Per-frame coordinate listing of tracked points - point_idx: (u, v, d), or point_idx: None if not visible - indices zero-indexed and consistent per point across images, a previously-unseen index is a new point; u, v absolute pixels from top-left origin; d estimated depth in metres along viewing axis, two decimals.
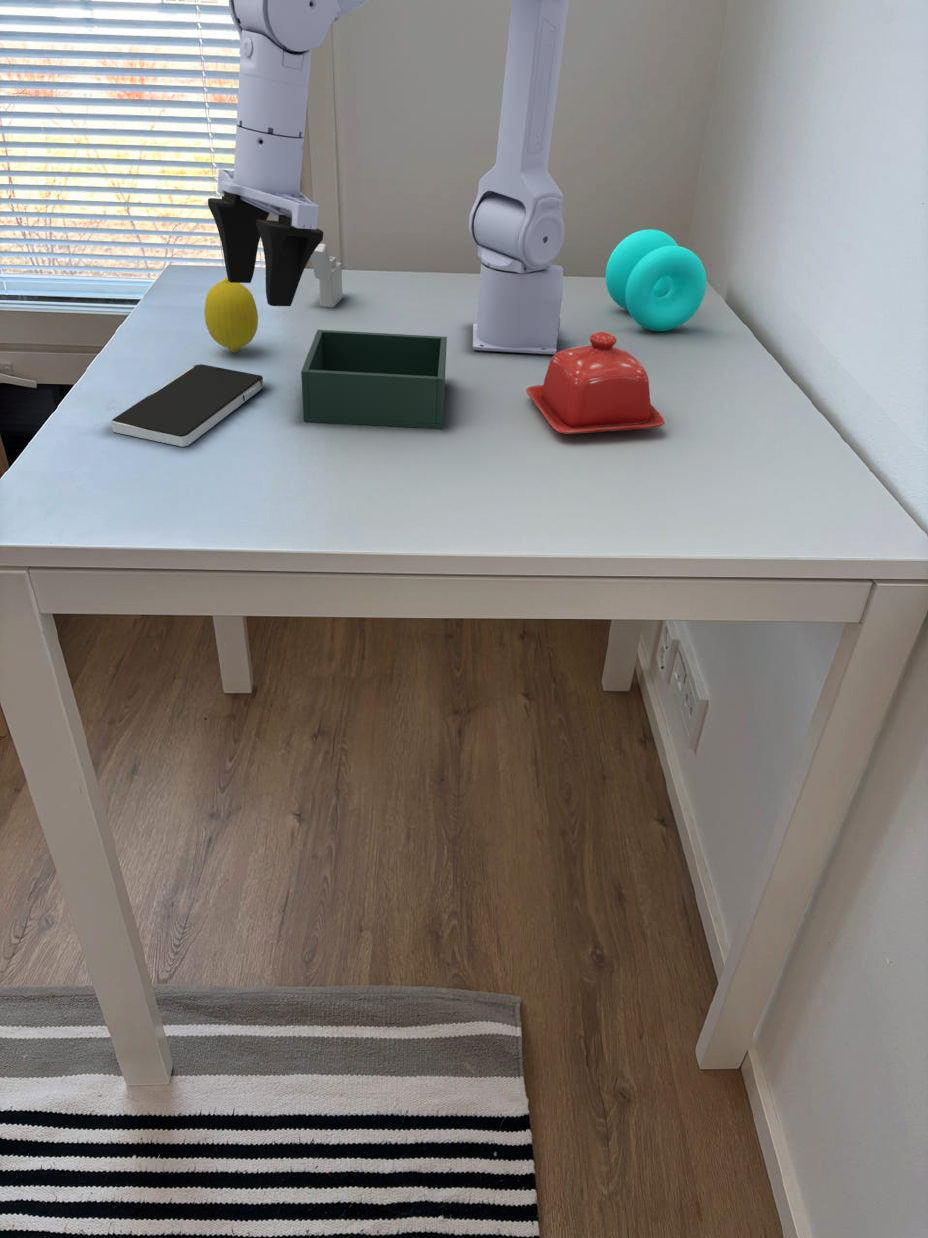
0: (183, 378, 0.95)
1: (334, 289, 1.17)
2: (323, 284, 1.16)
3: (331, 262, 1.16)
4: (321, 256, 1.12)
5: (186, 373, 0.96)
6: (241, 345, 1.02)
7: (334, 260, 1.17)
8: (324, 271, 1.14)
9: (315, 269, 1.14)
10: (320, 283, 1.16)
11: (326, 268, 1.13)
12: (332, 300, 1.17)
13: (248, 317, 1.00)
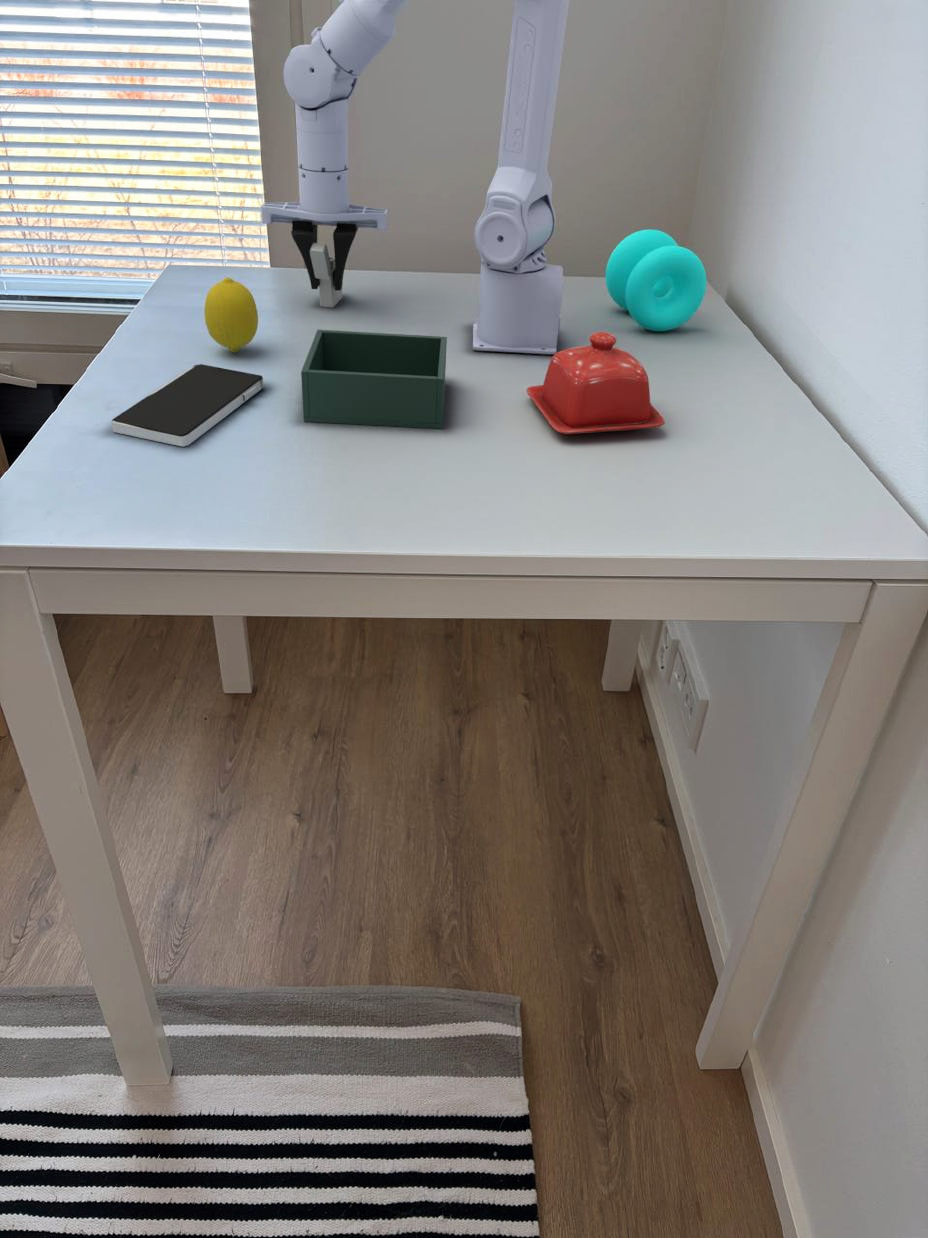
0: (183, 378, 0.95)
1: (334, 289, 1.17)
2: (323, 284, 1.16)
3: (331, 262, 1.16)
4: (321, 256, 1.12)
5: (186, 373, 0.96)
6: (241, 345, 1.02)
7: (334, 260, 1.17)
8: (324, 271, 1.14)
9: (315, 269, 1.14)
10: (320, 283, 1.16)
11: (326, 268, 1.13)
12: (332, 300, 1.17)
13: (248, 317, 1.00)
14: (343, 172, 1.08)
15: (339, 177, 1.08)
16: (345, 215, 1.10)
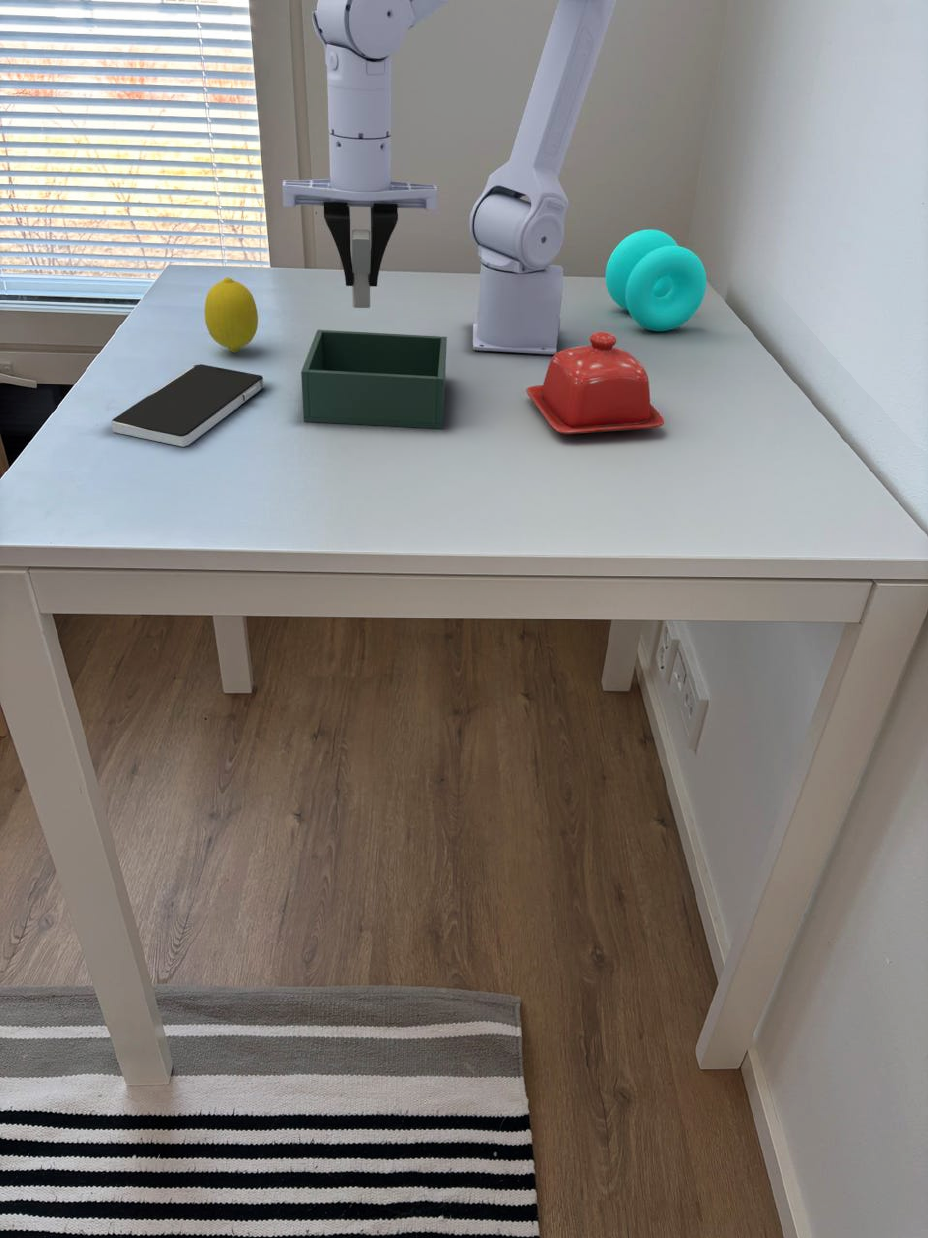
0: (183, 378, 0.95)
1: (369, 285, 0.96)
2: (358, 281, 0.95)
3: None
4: (366, 245, 0.91)
5: (186, 373, 0.96)
6: (241, 345, 1.02)
7: None
8: (366, 264, 0.93)
9: (355, 262, 0.92)
10: (354, 279, 0.95)
11: (369, 260, 0.92)
12: (369, 299, 0.97)
13: (248, 317, 1.00)
14: (387, 139, 0.87)
15: (382, 146, 0.87)
16: (389, 193, 0.89)
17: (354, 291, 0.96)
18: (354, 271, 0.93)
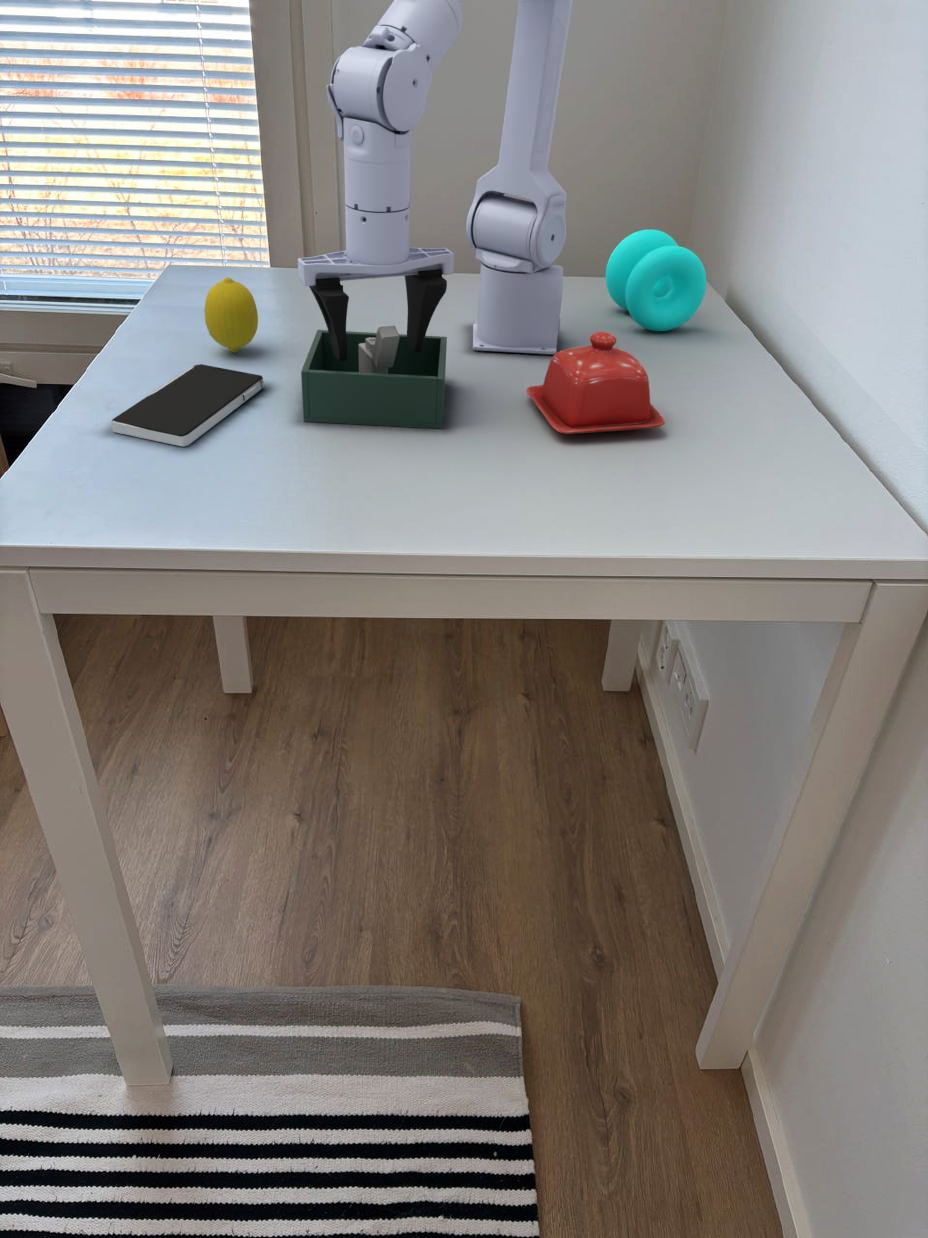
0: (183, 378, 0.95)
1: None
2: None
3: None
4: (394, 341, 0.89)
5: (186, 373, 0.96)
6: (241, 345, 1.02)
7: None
8: (391, 358, 0.91)
9: (380, 358, 0.91)
10: None
11: (394, 354, 0.91)
12: None
13: (248, 317, 1.00)
14: (409, 209, 0.85)
15: (405, 216, 0.85)
16: (413, 262, 0.87)
17: None
18: (378, 366, 0.92)
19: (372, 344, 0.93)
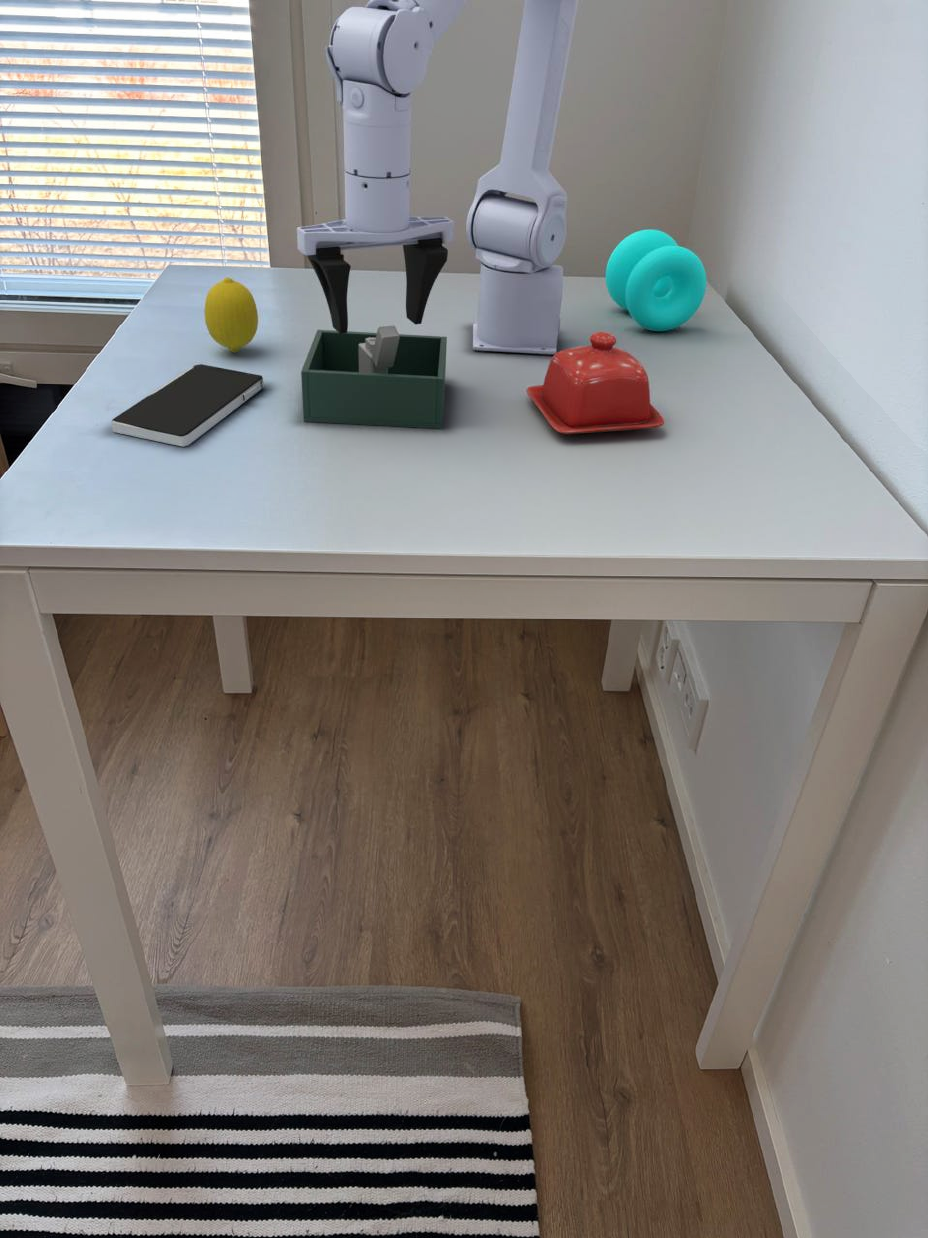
0: (183, 378, 0.95)
1: None
2: None
3: None
4: (394, 341, 0.89)
5: (186, 373, 0.96)
6: (241, 345, 1.02)
7: None
8: (391, 358, 0.91)
9: (380, 358, 0.91)
10: None
11: (394, 354, 0.91)
12: None
13: (248, 317, 1.00)
14: (409, 175, 0.83)
15: (406, 182, 0.83)
16: (415, 230, 0.85)
17: None
18: (378, 366, 0.92)
19: (372, 344, 0.93)
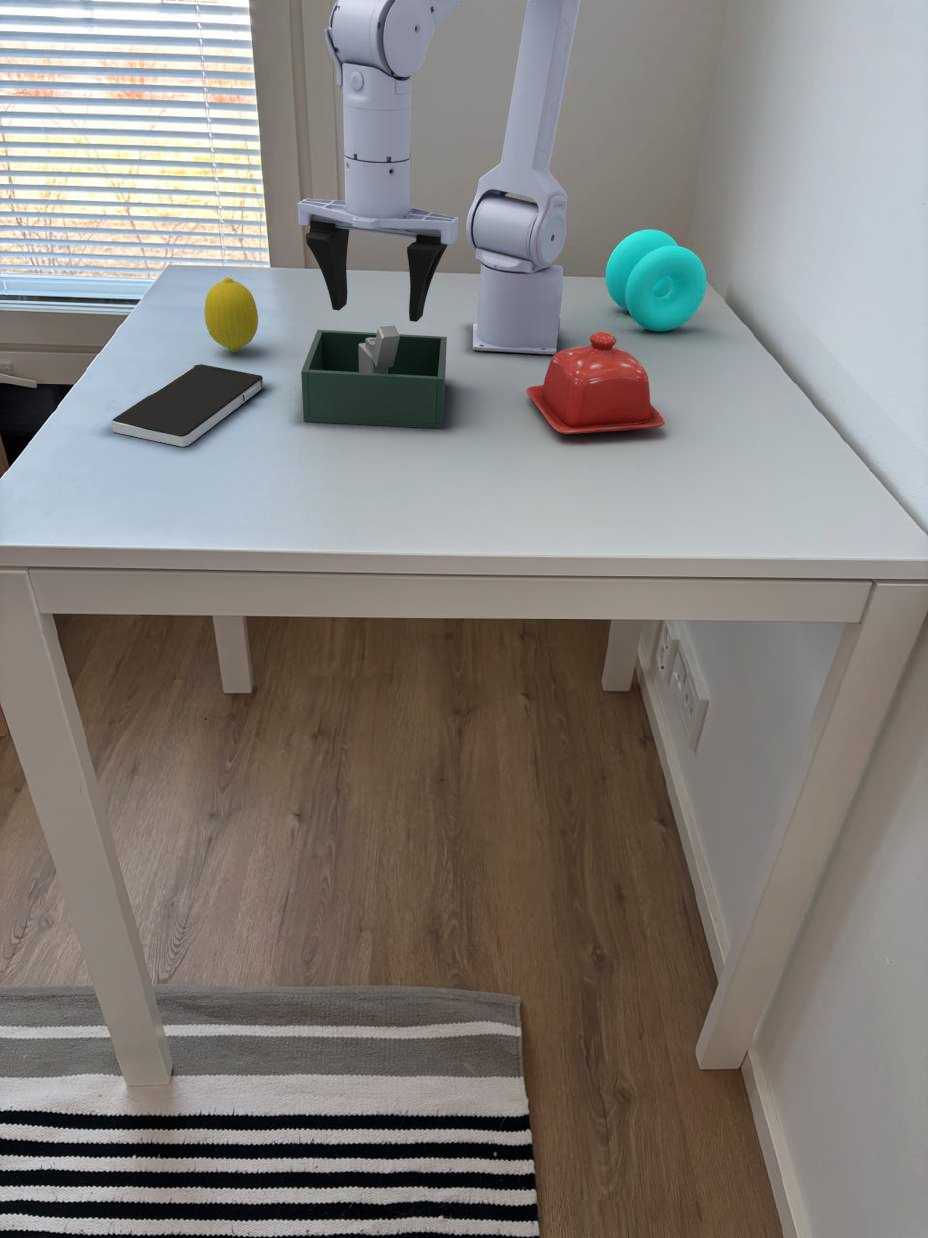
0: (183, 378, 0.95)
1: None
2: None
3: None
4: (394, 341, 0.89)
5: (186, 373, 0.96)
6: (241, 345, 1.02)
7: None
8: (391, 358, 0.91)
9: (380, 358, 0.91)
10: None
11: (394, 354, 0.91)
12: None
13: (248, 317, 1.00)
14: None
15: None
16: None
17: None
18: (378, 366, 0.92)
19: (372, 344, 0.93)
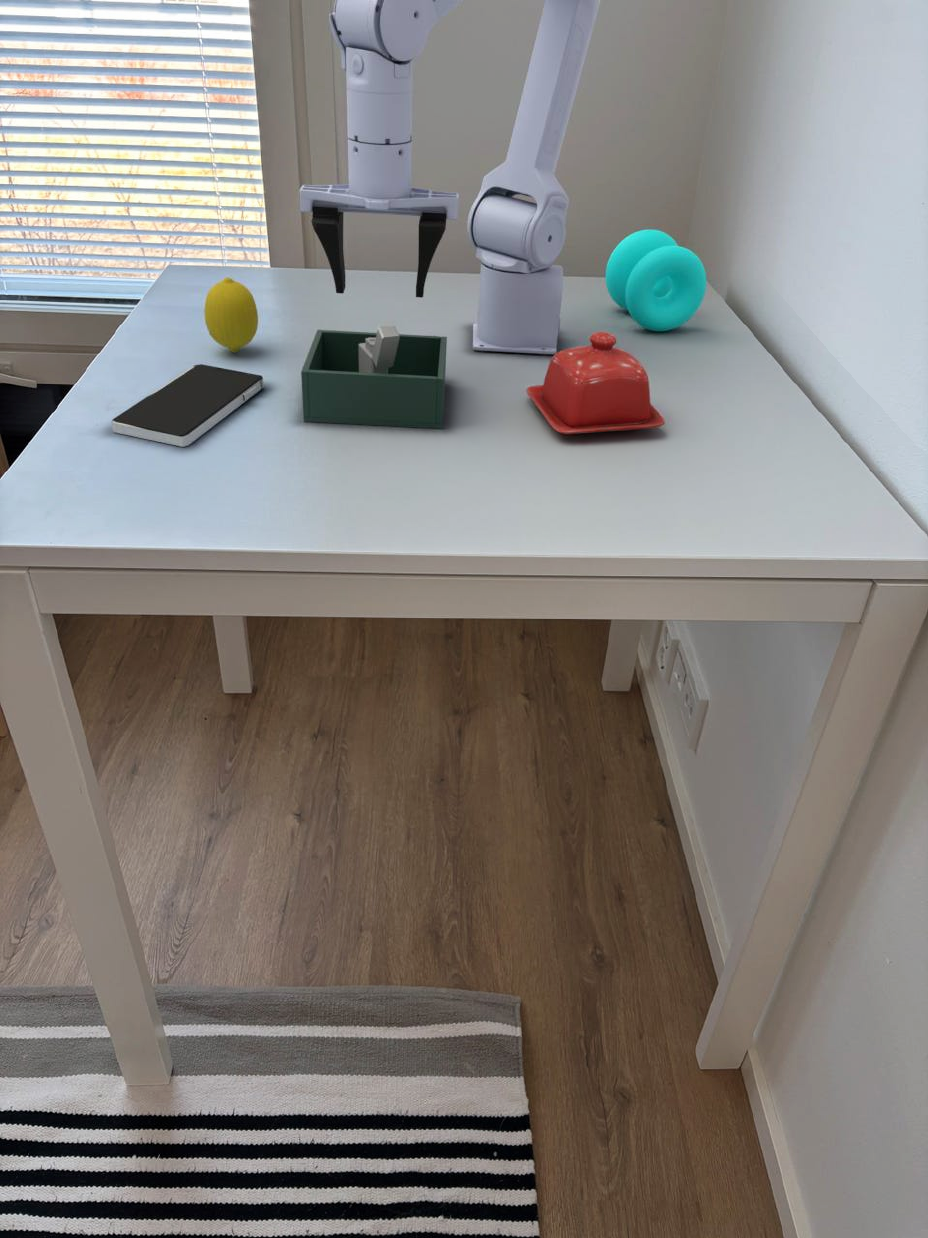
0: (183, 378, 0.95)
1: None
2: None
3: None
4: (394, 341, 0.89)
5: (186, 373, 0.96)
6: (241, 345, 1.02)
7: None
8: (391, 358, 0.91)
9: (380, 358, 0.91)
10: None
11: (394, 354, 0.91)
12: None
13: (248, 317, 1.00)
14: None
15: None
16: None
17: None
18: (378, 366, 0.92)
19: (372, 344, 0.93)
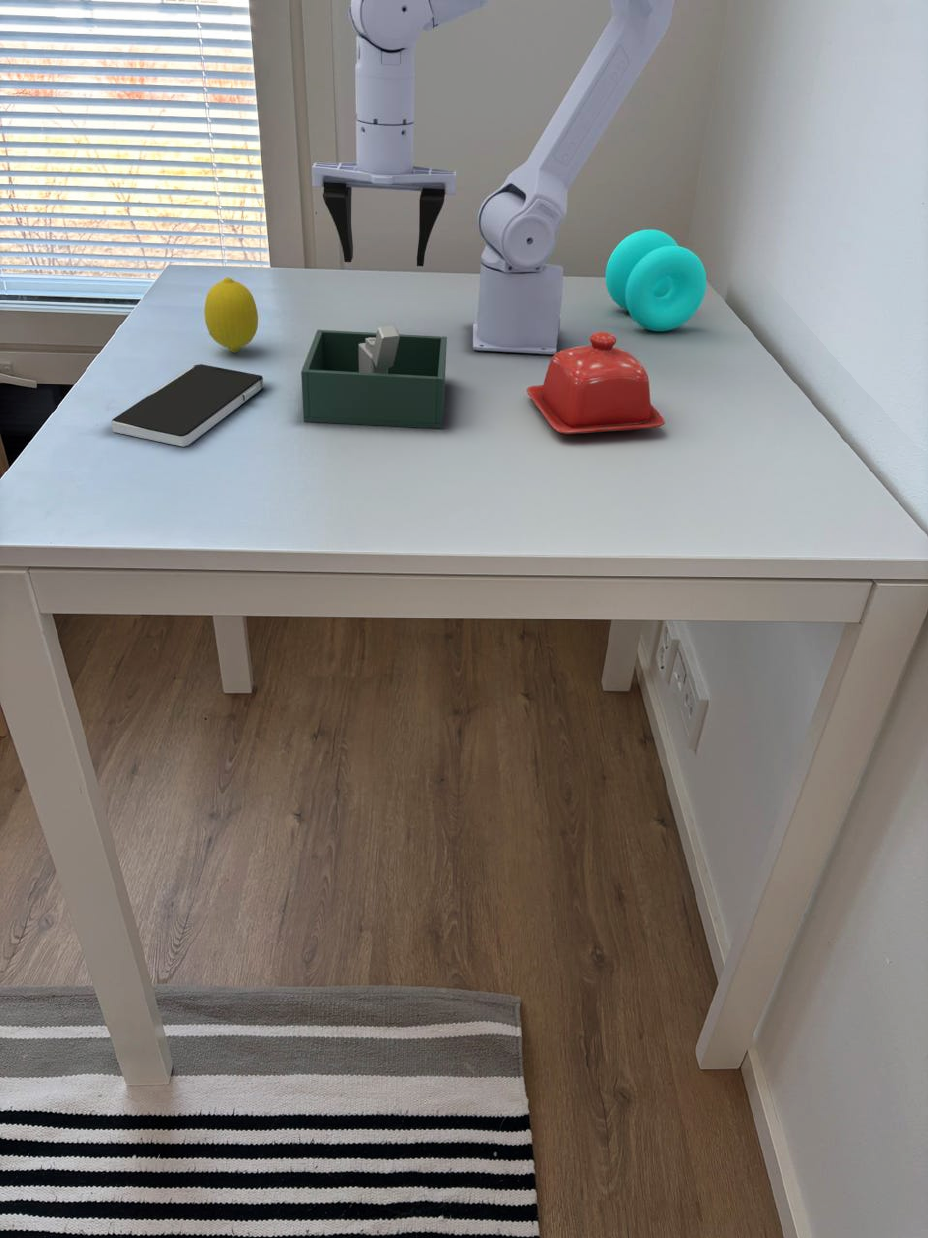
0: (183, 378, 0.95)
1: None
2: None
3: None
4: (394, 341, 0.89)
5: (186, 373, 0.96)
6: (241, 345, 1.02)
7: None
8: (391, 358, 0.91)
9: (380, 358, 0.91)
10: None
11: (394, 354, 0.91)
12: None
13: (248, 317, 1.00)
14: None
15: None
16: None
17: None
18: (378, 366, 0.92)
19: (372, 344, 0.93)
